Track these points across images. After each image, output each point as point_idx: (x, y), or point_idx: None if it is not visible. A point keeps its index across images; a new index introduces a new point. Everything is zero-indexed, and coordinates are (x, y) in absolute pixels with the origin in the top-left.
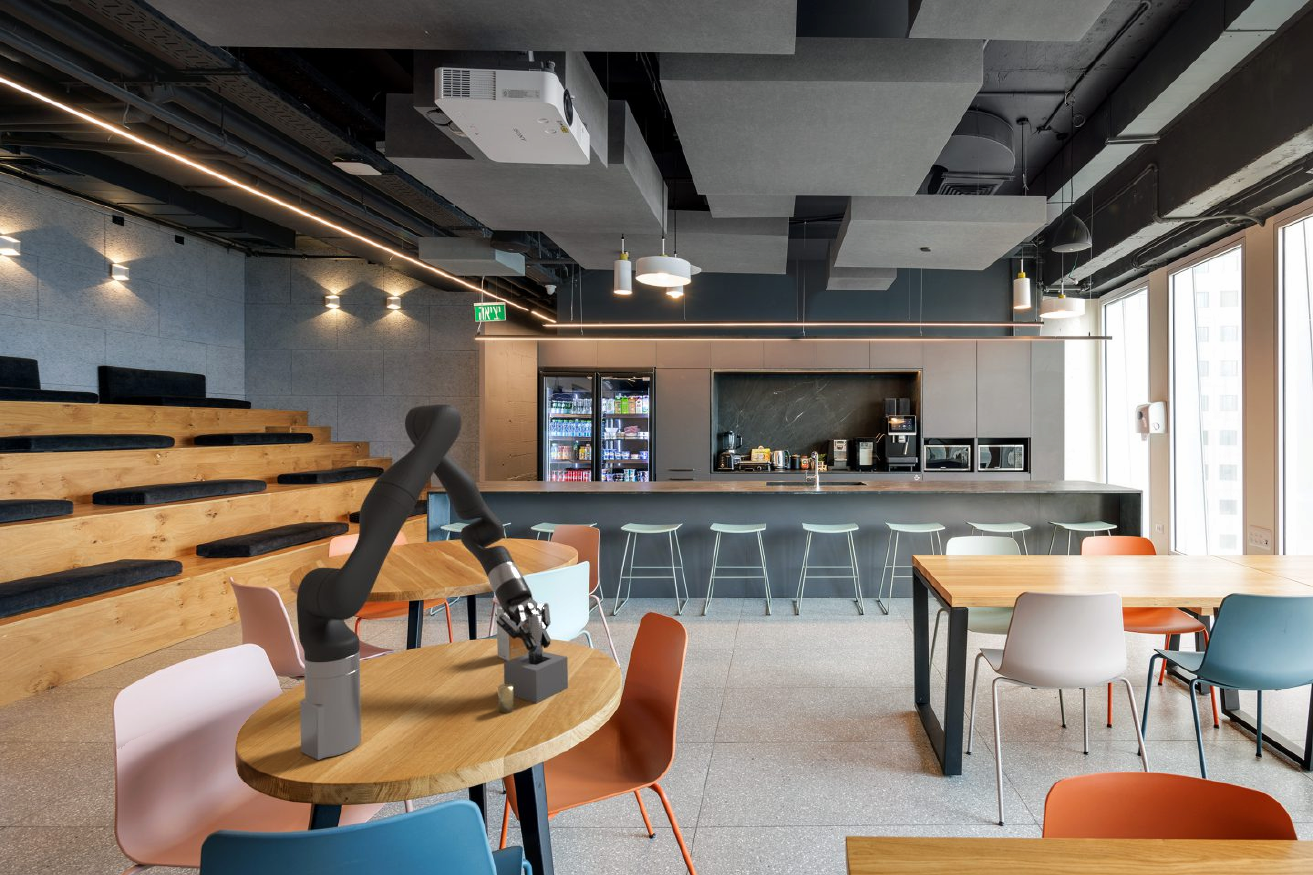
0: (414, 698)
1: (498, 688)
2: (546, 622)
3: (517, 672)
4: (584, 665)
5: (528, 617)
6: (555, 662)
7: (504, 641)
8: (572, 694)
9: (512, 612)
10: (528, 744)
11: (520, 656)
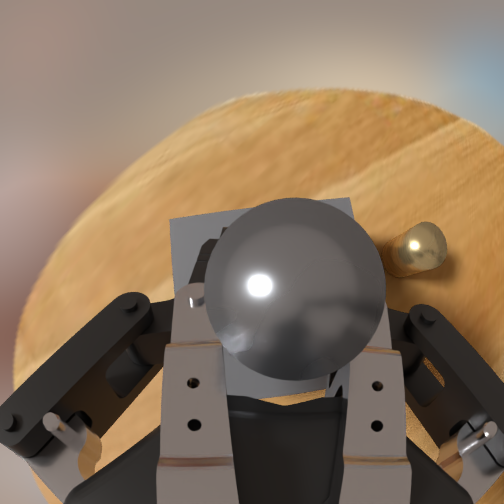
0: None
1: (446, 251)
2: (144, 310)
3: None
4: (65, 333)
5: (382, 299)
6: (240, 210)
7: None
8: (223, 199)
9: (447, 481)
10: (424, 110)
11: (287, 391)
